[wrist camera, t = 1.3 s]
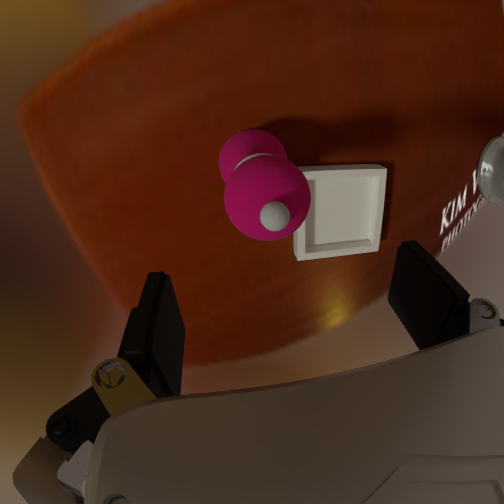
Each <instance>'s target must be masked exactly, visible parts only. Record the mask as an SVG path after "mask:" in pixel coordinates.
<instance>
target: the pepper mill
mask: <svg viewBox="0 0 504 504" xmlns="http://www.w3.org/2000/svg"><path fill="white" fill-rule="evenodd" d="M219 168H220V172H221V175H222V178H223V180H224V181H225V183H226V187H225V192H224V203H225V208H226V212H227V214H228V217H229V218H230V220H231V222H232V224H233V225H234V226H235V227H236V228H237V229H238V230H239V231H241V232H242V233H243V234H245V235H247V236H249V237H251V238H254V239H257V240H263V241H273V240H278V239H282V238H284V237H287V236H289V235H290V234H292V233H293V232H295V231H296V230H297V229H298V228H299V227H300V226H301V225H302V223H303V222H304V220H305V219H306V217H307V215H308V212H309V208H310V203H311V192H310V188H309V184H308V182H307V179H306V177H305V176H304V174H303V173H302V171H301V170H300V169H299V168H298V167H297V166H296V165H295V164H294V163H292V162H291V161H289V160H287V154H286V152H285V149H284V147H283V146H282V144H281V143H280V141H279V140H278V139H277V138H276V137H275V136H273V135H272V134H270V133H269V132H266V131H263V130H259V129H247V130H243V131H240V132H238V133H236V134H234V135H233V136H232V137H230V138H229V139H228V140H227V141H226V143H225V144H224V145H223V147H222V149H221V152H220V155H219Z"/></svg>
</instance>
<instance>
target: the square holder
mask: <svg viewBox="0 0 504 504" xmlns="http://www.w3.org/2000/svg"><path fill="white" fill-rule="evenodd" d="M298 168H299V169H300V170H301V171H302V173H303V174H304V176H305V177H306V179H307V182H308V184H309V188H310V192H311V203H310V208H309V212H308V215H307V217H306V219H305V220H304V222H303V223H302V225H301V226H300V227H299V228H298V229H297V230H296V231H295V232H294V253H295V256H296V258H297V261H301V260H309V259H317V258H326V257H334V256H342V255H350V254H358V253H366V252H374V251H378V248H379V241H380V234H381V226H382V218H383V209H384V199H385V187H386V174H387V169H386V168H384V167H383V166H381V165H379V164H351V165H323V166H304V167H298Z"/></svg>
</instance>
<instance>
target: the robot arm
mask: <svg viewBox="0 0 504 504" xmlns="http://www.w3.org/2000/svg"><path fill="white" fill-rule="evenodd" d="M478 185H479V189H480V192H481V194H482V196H483V198H484V199H485V200H487V201H488V202H490V203H493V204H498V203H500V202H502V201H504V137H502V136H497V137H494V138H492V139H491V140H490V141H489V142H488V143H487V145H486V146H485V148H484V150H483V152H482V155H481V157H480V161H479V166H478ZM469 296H470V294H469V293H468V292H467V291H466V290H465V289H464V288H463V287H462V286H461V285H460V284H459V283H458V282H457V281H456V280H455V279H454V278H453V276H452V275H451V274H450V273H449V272H447V270H446V269H445V268H444V267H443V266H442V265H441V264H440V263H439V262H438V261H437V260H436V259H435V258H433V257H432V256H431V255H430V254H429V253H428V252H427V251H426V250H425V249H424V248H423V247H422V246H421V245H420V244H419V243H418V242H417V241H415V240H412V241H404V242H402V243H401V245H400V246H399V247H398V251H397V256H396V261H395V266H394V271H393V276H392V280H391V285H390V289H389V294H388V302H389V304H390V305H391V307H392V308H393V310H394V311H395V313H396V314H397V316H398V317H399V319H400V321H401V322H402V324H403V325H404V327H405V328H406V330H407V331H408V333H409V334H410V336H411V337H412V339H413V341H414V342H415V344H416V345H417V347H418V349H419V350H420V351H417V352H414V353H410V354H408V355H404V356H400V357H397V358H394V359H390V360H387V361H383V362H379V363H376V364H372V365H368V366H364V367H360V368H356V369H352V370H348V371H344V372H339V373H334V374H330V375H325V376H320V377H315V378H310V379H304V380H299V381H293V382H288V383H281V384H275V385H268V386H261V387H253V388H246V389H237V390H228V391H219V392H209V393H197V394H189V395H180V393H181V379H182V366H183V354H184V342H185V326H184V323H183V320H182V316H181V313H180V310H179V306H178V303H177V300H176V296H175V293H174V289H173V286H172V282H171V278H170V276H169V274H167V275H165V273H164V272H163V271H160V272H151V273H149V274H148V276H147V279H146V282H145V285H144V288H143V291H142V294H141V297H140V301H139V304H138V307H135V308H133V309H132V310H131V312H130V315H129V318H128V322H127V325H126V328H125V331H124V335H123V338H122V341H121V345H120V348H119V352H118V355H117V358H110V359H106V360H104V361H102V362H101V363H99V364H98V365H97V366H96V367H95V368H94V370H93V372H92V375H91V382H92V385H93V386H91V387H90V388H89V389H87V390H86V391H84V392H83V393H82V394H80V395H79V396H77V397H76V398H74V399H73V400H71V401H70V402H69V403H67V404H66V405H64V406H63V407H62V408H60V409H59V410H57V411H56V412H54V413H53V414H52V415H51V416H50V418H49V420H48V421H47V425H46V433H47V435H46V436H45V438H44V439H43V438H42V437H40V438H39V439H38V440H37V442H36V443H35V444H34V445H33V447H32V448H31V449H30V450H29V452H28V453H27V454H26V455H25V457H24V458H23V459H22V460H21V462H20V463H19V464H18V465H17V467H16V468H15V470H14V472H13V483H14V486H15V487H16V489H17V490H18V492H19V493H20V494H21V495H22V497H23V498H24V499H25V500H26V501H27V502H28V504H504V320H503V319H500V318H499V311H498V309H497V307H496V306H495V305H494V304H493V303H492V302H490V301H489V300H486V299H483V298H475V299H473V300H472V301H471V303H469V302H468V299H469ZM87 471H88V472H87ZM86 472H87V474H86ZM86 477H87V479H86ZM85 479H86V486H85V495H84V498H83V496H82V493H81V486H82V484H83V482H84V480H85ZM126 498H127V499H126Z"/></svg>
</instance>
